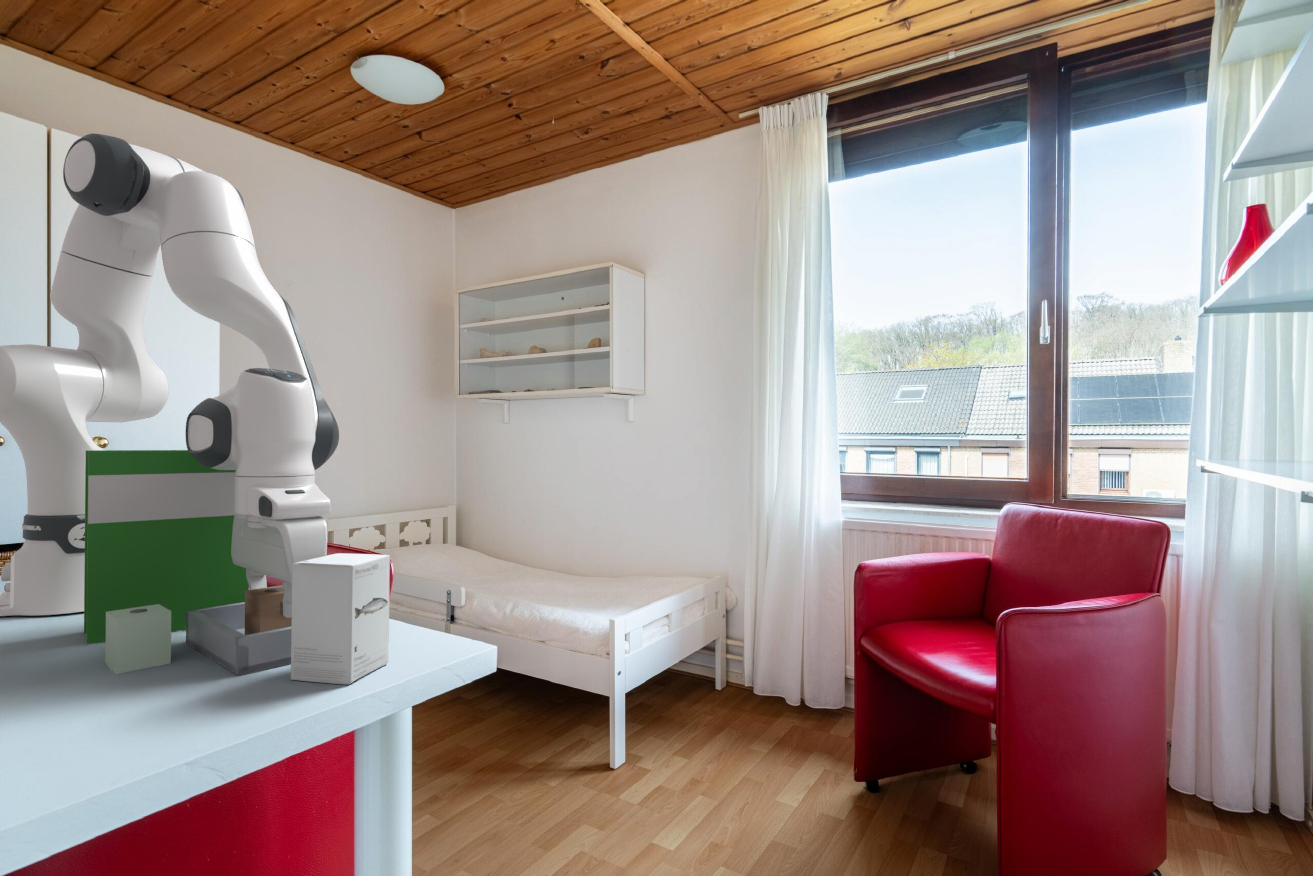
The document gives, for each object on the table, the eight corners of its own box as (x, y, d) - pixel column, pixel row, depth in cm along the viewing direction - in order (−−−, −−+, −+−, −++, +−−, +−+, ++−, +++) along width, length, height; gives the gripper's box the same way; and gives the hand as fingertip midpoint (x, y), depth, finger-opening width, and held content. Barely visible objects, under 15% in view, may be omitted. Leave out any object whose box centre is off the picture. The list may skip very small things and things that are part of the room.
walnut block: (244, 639, 86) (244, 589, 86) (287, 630, 90) (287, 583, 90) (259, 647, 83) (260, 596, 83) (303, 638, 87) (303, 589, 87)
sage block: (105, 664, 79) (105, 610, 79) (158, 654, 82) (158, 603, 83) (116, 674, 75) (116, 618, 75) (170, 663, 79) (171, 610, 79)
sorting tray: (185, 643, 87) (186, 611, 87) (301, 621, 97) (302, 593, 97) (238, 675, 75) (238, 638, 75) (363, 647, 86) (364, 614, 86)
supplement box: (350, 686, 72) (351, 565, 72) (288, 681, 74) (289, 562, 74) (391, 664, 79) (392, 553, 79) (333, 659, 81) (334, 551, 81)
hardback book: (86, 644, 86) (88, 451, 86) (83, 632, 92) (85, 450, 92) (248, 620, 98) (250, 450, 98) (237, 610, 103) (238, 449, 103)
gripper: (217, 495, 91) (216, 600, 91) (281, 505, 77) (280, 629, 77) (269, 492, 95) (268, 593, 95) (337, 502, 82) (336, 619, 82)
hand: (274, 609), depth 86 cm, fingers open, 8 cm apart
